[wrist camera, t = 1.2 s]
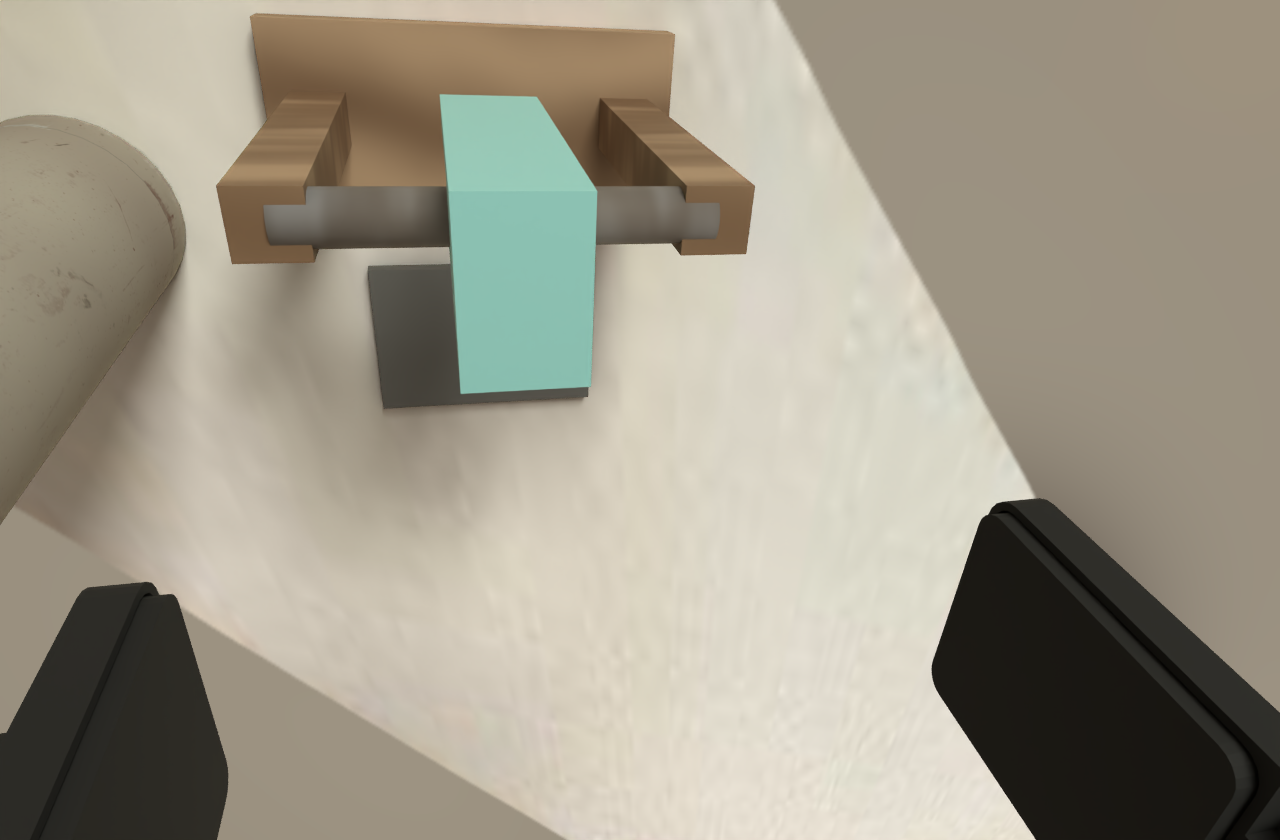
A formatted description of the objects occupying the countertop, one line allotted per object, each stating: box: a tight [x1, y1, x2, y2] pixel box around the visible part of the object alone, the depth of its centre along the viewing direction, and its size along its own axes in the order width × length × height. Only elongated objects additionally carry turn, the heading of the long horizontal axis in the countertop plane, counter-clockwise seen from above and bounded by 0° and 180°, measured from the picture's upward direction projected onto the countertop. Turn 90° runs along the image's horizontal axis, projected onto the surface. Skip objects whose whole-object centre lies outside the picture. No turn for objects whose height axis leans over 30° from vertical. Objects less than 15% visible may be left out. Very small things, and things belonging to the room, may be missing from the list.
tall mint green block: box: [440, 94, 597, 394], centre depth 22 cm, size 5×3×11 cm, turn 177°
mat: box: [368, 264, 588, 409], centre depth 39 cm, size 7×10×1 cm
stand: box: [216, 13, 755, 264], centre depth 28 cm, size 7×16×15 cm, turn 87°
